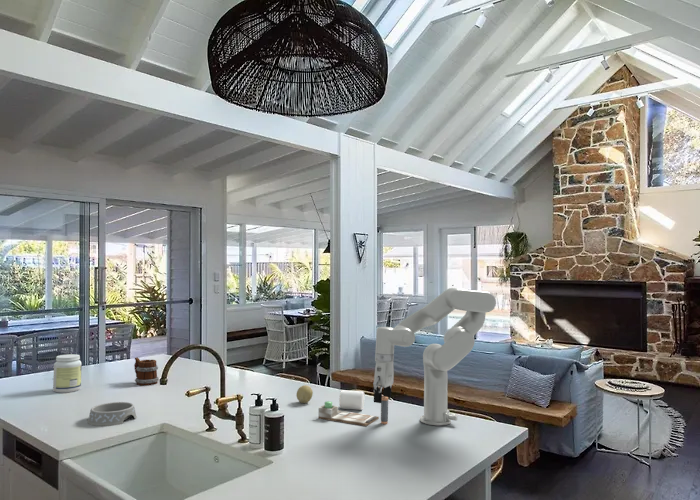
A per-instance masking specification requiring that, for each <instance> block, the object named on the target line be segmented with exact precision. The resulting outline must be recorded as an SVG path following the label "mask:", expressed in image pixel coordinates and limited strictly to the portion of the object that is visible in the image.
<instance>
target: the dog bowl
mask: <svg viewBox="0 0 700 500" xmlns="http://www.w3.org/2000/svg"><path fill="white" fill-rule="evenodd" d="M131 416H133V418H134V420H136V419H137V418H138V417H137V414H136V409H135V404H134V403H132V402H127V401H117V402H116V401H114V402H106V403H101V404H98V405H95V406H93V407H91V408H90V411H89V416H88V419H87V424H88V425H91V426H96V427H111V426H112V427H113V426H118V425H119V426H120V425H123V423H124V421H125V420H126V421H127V419H129V418H130V417H131Z"/></svg>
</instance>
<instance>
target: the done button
mask: <svg viewBox="0 0 700 500" xmlns="http://www.w3.org/2000/svg"><path fill="white" fill-rule="evenodd" d="M324 405H325V408H329V409H331V408H332V405H333V401H329V400H328V401H327V400H326V401H324Z"/></svg>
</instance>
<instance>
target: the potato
mask: <svg viewBox="0 0 700 500" xmlns="http://www.w3.org/2000/svg"><path fill="white" fill-rule="evenodd" d="M313 394H314V391H313V389H312V387H311V386H310V385H307V384H306V385H305V384H304V385H301V386H299V387H298V389H297V391H296V395H295V396H296V399H297V400H298V402H299V403H301V404H307V403H309V402H310V401H311V399H312V397H313V396H314V395H313Z"/></svg>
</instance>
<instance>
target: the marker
mask: <svg viewBox="0 0 700 500" xmlns="http://www.w3.org/2000/svg"><path fill="white" fill-rule="evenodd" d="M388 421H389V398H388V397H386V396H383V395H382V402H381V403H380V424H381V425H388Z"/></svg>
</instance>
